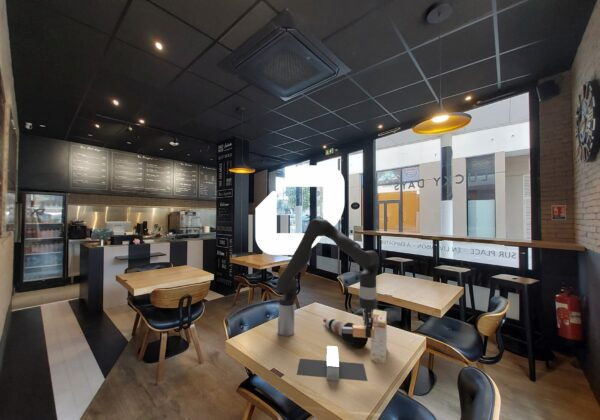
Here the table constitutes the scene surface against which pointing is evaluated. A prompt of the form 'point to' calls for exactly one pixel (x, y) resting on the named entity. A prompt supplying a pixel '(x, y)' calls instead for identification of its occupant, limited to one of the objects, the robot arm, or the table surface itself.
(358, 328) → the plug
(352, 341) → the black white tapered bottle
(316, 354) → the table surface
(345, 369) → the mat
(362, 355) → the table surface
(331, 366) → the housing
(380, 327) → the coffeecake box
